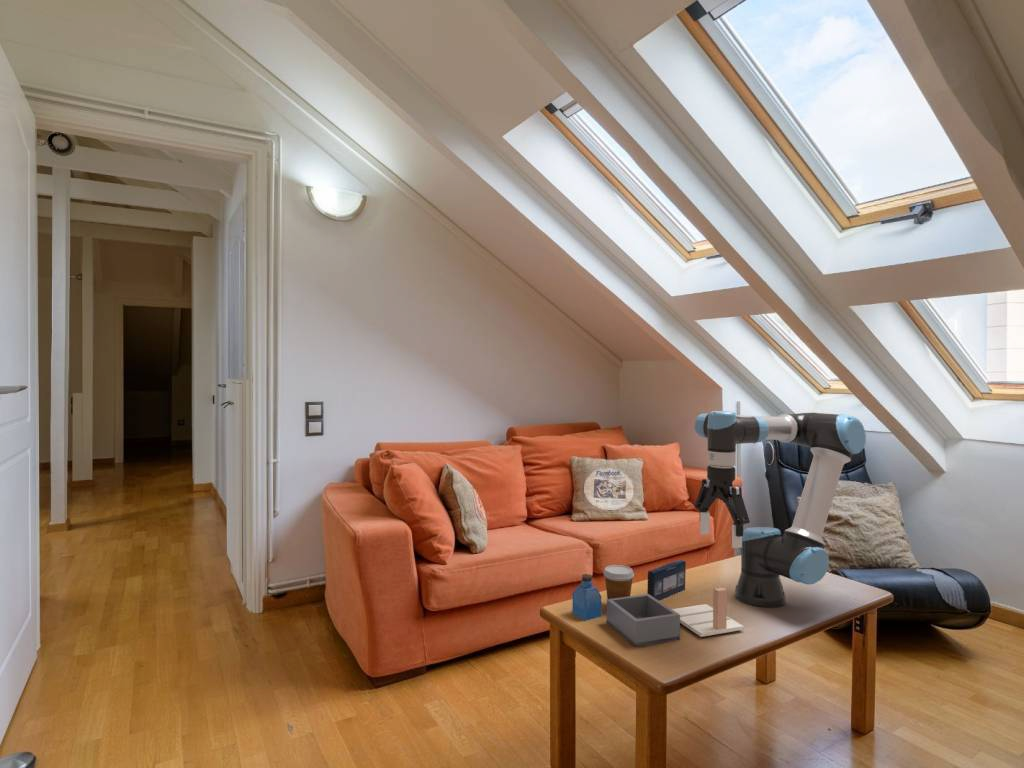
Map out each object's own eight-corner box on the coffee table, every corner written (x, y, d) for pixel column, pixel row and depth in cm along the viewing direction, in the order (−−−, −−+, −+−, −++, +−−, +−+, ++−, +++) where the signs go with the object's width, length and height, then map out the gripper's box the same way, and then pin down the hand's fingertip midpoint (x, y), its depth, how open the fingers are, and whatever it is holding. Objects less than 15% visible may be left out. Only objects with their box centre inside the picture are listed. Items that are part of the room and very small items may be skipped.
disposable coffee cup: (596, 607, 183) (597, 569, 183) (614, 599, 190) (615, 562, 190) (622, 616, 177) (622, 577, 176) (639, 607, 183) (640, 569, 183)
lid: (706, 610, 182) (706, 569, 182) (743, 633, 167) (744, 587, 166) (666, 616, 177) (666, 574, 177) (700, 640, 162) (701, 593, 161)
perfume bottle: (572, 613, 179) (572, 574, 178) (588, 609, 182) (588, 571, 182) (584, 621, 173) (585, 580, 173) (601, 616, 176) (601, 577, 176)
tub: (647, 616, 177) (648, 593, 176) (679, 639, 161) (679, 614, 161) (606, 622, 172) (606, 599, 172) (635, 647, 157) (635, 621, 157)
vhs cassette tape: (653, 603, 187) (653, 572, 187) (645, 600, 189) (646, 570, 189) (686, 590, 198) (687, 561, 198) (679, 588, 201) (679, 559, 201)
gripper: (683, 460, 175) (682, 530, 176) (741, 474, 152) (740, 555, 152) (704, 458, 178) (703, 528, 178) (764, 472, 154) (763, 552, 155)
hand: (720, 540), depth 165 cm, fingers open, 13 cm apart
